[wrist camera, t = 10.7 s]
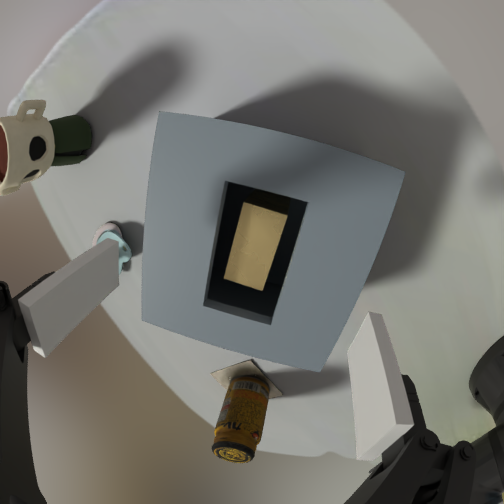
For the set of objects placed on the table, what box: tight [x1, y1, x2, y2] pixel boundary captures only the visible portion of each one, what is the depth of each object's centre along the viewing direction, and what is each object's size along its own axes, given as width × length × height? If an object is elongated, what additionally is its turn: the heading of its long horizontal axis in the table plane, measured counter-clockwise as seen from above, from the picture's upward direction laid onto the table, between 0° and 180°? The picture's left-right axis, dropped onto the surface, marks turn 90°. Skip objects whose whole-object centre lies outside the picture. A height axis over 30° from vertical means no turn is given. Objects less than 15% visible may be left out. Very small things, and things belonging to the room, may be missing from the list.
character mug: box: [0, 100, 92, 196], centre depth 22 cm, size 11×7×13 cm, turn 142°
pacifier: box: [93, 223, 132, 274], centre depth 30 cm, size 7×6×6 cm
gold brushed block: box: [224, 188, 291, 291], centre depth 23 cm, size 3×6×8 cm, turn 165°
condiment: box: [210, 360, 283, 463], centre depth 33 cm, size 7×8×12 cm
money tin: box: [142, 111, 405, 372], centre depth 23 cm, size 15×16×11 cm
